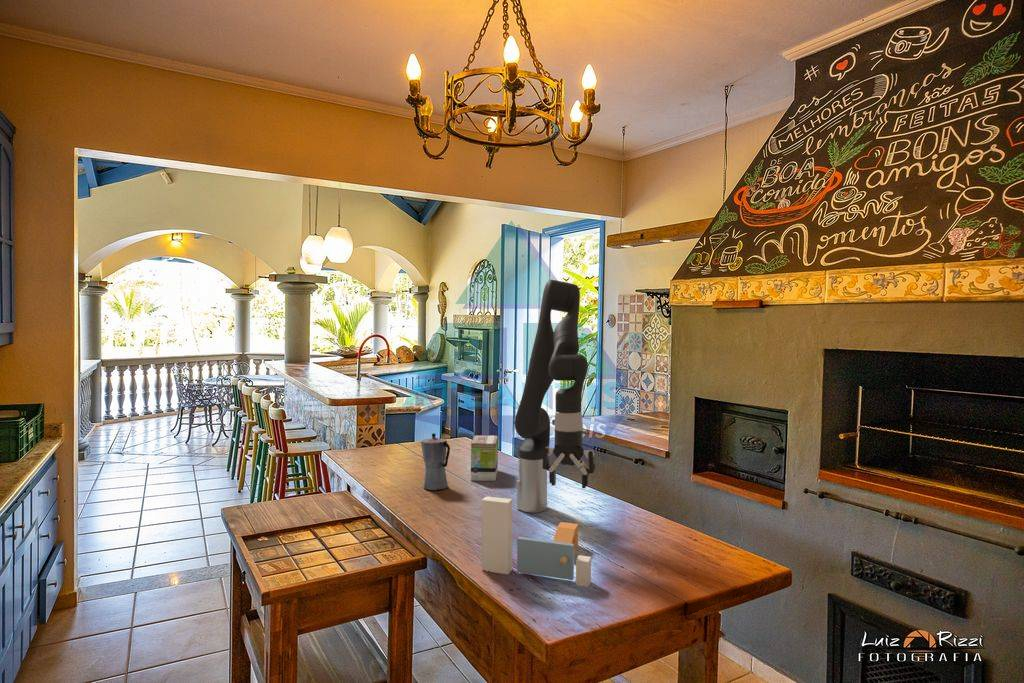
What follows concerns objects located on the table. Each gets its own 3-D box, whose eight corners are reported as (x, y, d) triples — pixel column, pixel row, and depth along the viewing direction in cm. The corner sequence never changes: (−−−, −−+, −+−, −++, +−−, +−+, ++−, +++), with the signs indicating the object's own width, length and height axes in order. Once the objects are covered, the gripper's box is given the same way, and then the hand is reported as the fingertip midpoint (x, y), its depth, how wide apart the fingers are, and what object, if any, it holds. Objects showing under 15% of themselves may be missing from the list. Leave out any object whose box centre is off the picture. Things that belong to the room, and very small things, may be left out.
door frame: (482, 570, 145) (481, 500, 144) (486, 565, 148) (486, 496, 147) (588, 586, 136) (588, 511, 135) (590, 581, 139) (591, 507, 138)
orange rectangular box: (569, 561, 150) (569, 539, 149) (550, 559, 151) (550, 536, 151) (578, 545, 160) (578, 524, 160) (560, 542, 162) (560, 522, 161)
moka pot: (432, 480, 221) (431, 429, 220) (460, 488, 211) (460, 434, 210) (413, 486, 213) (412, 433, 212) (441, 495, 204) (441, 439, 203)
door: (515, 574, 141) (515, 540, 141) (518, 569, 144) (518, 536, 143) (571, 582, 137) (571, 548, 136) (573, 578, 139) (573, 543, 139)
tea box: (496, 481, 220) (496, 443, 219) (470, 481, 220) (469, 443, 219) (498, 470, 235) (498, 434, 234) (473, 470, 235) (473, 434, 234)
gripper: (539, 428, 156) (540, 488, 157) (591, 431, 152) (592, 492, 152) (546, 423, 163) (547, 480, 164) (596, 426, 159) (597, 484, 159)
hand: (568, 486), depth 158 cm, fingers open, 8 cm apart
